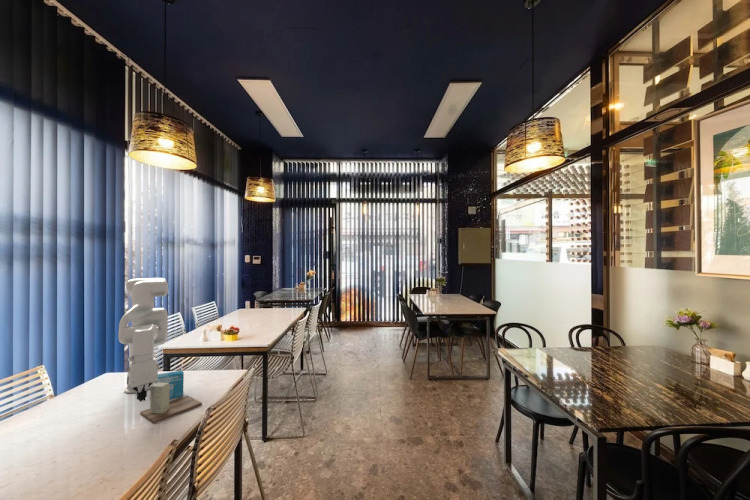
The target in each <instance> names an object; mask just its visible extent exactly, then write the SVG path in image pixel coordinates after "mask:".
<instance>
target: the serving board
mask: <svg viewBox="0 0 750 500" xmlns="http://www.w3.org/2000/svg"><path fill="white" fill-rule="evenodd" d="M202 406H203V403H202V401H200V400H197V399H195V398H194V397H192V396H190V395H185V396H181V397H178V398H175V399H173V400H169V410H167V411H166V412H164V413H162V414H158V413H150V408H147V409H145V410H142V411H140V412H139V415H140V416H141V417H142V418H144V419H146V420H147V421H149V422H150V423H151V424H152V425H154V424H158V423H160V422H163V421H165V420H167V419H169V418H173V417H176V416H178V415H180V414H183V413H185V412H188V411H190V410H193V409H196V408H199V407H202Z"/></svg>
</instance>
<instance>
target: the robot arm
mask: <svg viewBox="0 0 750 500" xmlns="http://www.w3.org/2000/svg"><path fill="white" fill-rule="evenodd" d="M125 286H126V287H125V288H126V289H125V290H126V292H127V294H128V296H129V297H130V300H131V308H129V309H128V310H127V311H126V312H125V313H124V314H123V315H122V317H121V319H120V320H119V324H118V335H117V336H118V341H119V343H121V344H122V345H128V357H127V361H128V369H127V375H126V387H125V388H124V390H123V391H124V393H126V394H136V400H138V401H139V402H143V401H146V398H147V395H148V394H147V393H148V392H147V391H148V390H150V386H151V385H153V384H155V383H156V382H157V379H158V374H159V371H158V362H157V358H156V357H154V354H155V353H154V352H155V351H154V350H155V346H160V345H164V344H166V342H167V341H168V335H169V334H168V329H169V327H168V326H169V321H168V319H169V318H168V316H169V315H168V314H169V313H168V311H167V309H166V308H165V307H155V298H158V297H161V298H162V297H166V296H167V295H168V293H169V284H168V280H166V278H163V277H149V278H148V277H145V278H143V277H142V278H132V279H129V280H127V281H126V284H125ZM130 322H131V324H132V326H131V325H130V326H128V324H129V323H130Z"/></svg>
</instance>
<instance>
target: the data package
mask: <svg viewBox="0 0 750 500" xmlns="http://www.w3.org/2000/svg"><path fill="white" fill-rule="evenodd" d="M184 375H185V374H184V371H183V370H177V371H170V372H162V373H158V379H157V382H164V383H169V400H171V399H173V400H174V399H179V398H182V397H183V394H184V382H185V381H184V380H185V379H184V377H185V376H184ZM157 382H156V383H157Z"/></svg>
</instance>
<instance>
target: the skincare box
mask: <svg viewBox="0 0 750 500" xmlns="http://www.w3.org/2000/svg"><path fill="white" fill-rule="evenodd" d="M149 391H150V392H149V393H150V394H149V399H150V400H149V404H150V405H149V406H150V407H149V409H150V413H158V414H162V413H164V412H166V411H167V410H169V402H170V399H169V383H164V382H157V383H154V384H153V385H151V386H150V389H149Z"/></svg>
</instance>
